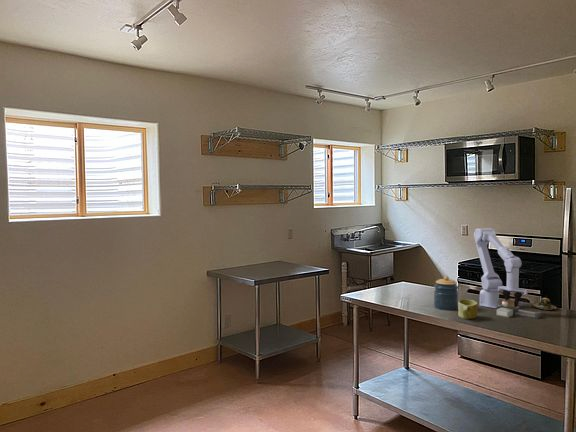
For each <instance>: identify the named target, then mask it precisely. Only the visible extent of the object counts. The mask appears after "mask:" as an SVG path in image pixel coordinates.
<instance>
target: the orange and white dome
mask: <svg viewBox="0 0 576 432" xmlns="http://www.w3.org/2000/svg"><path fill="white" fill-rule="evenodd" d="M501 305H502V306H501V307H503V306H508V301H506V300H501Z"/></svg>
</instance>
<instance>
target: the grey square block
mask: <svg viewBox="0 0 576 432" xmlns="http://www.w3.org/2000/svg"><path fill="white" fill-rule="evenodd" d="M495 311H496V312H495V313H496V316H498V317H504V318H510V317H512V316H514V314H513V309H507V308H501V307H498V308H495Z"/></svg>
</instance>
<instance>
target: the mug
mask: <svg viewBox="0 0 576 432" xmlns="http://www.w3.org/2000/svg"><path fill="white" fill-rule="evenodd" d="M478 308H479V304H478V302H477V301H476V300H473V299H467V298H466V299H465V298H464V299H460V300H459V299H458V309H457V310H458V313H457V314H458V317H459V318H461V319H463V318H464V319H463V320H469V319H471V320H472V319H473V320H474V319H476V318H477V315H478Z"/></svg>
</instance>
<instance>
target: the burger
mask: <svg viewBox="0 0 576 432" xmlns="http://www.w3.org/2000/svg"><path fill="white" fill-rule="evenodd" d="M545 296H546V297H542V298H541V300H540V301H536V303H532V305H531V307H532V308H533V307H534V308H535V309H536V308H537V309H540V310H548V311H551V310H553V311H554V312H556V311H557V310H558V307H557V306H556V305H553V304H552V303H551V300H550V299H549V298H547V295H545Z"/></svg>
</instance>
